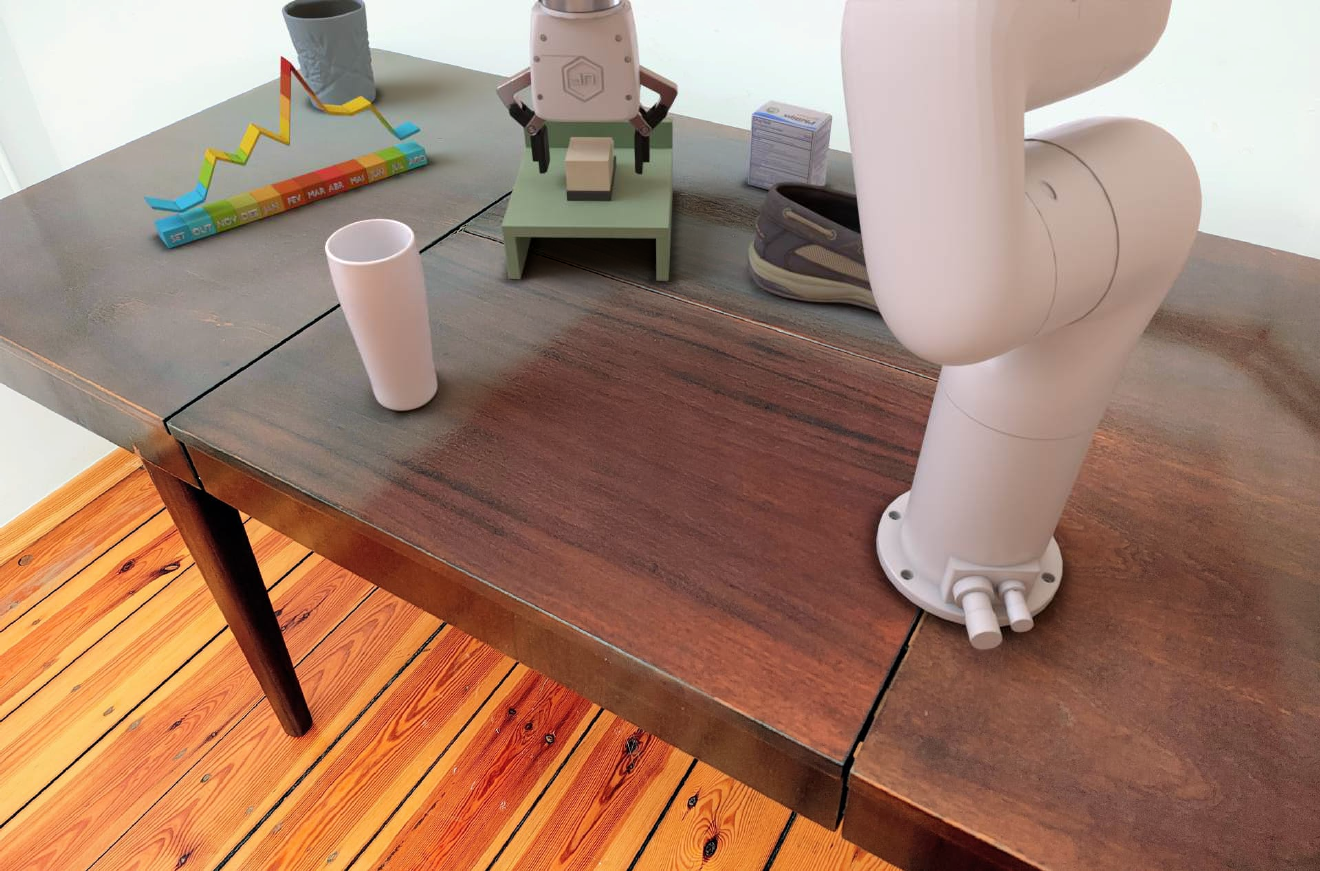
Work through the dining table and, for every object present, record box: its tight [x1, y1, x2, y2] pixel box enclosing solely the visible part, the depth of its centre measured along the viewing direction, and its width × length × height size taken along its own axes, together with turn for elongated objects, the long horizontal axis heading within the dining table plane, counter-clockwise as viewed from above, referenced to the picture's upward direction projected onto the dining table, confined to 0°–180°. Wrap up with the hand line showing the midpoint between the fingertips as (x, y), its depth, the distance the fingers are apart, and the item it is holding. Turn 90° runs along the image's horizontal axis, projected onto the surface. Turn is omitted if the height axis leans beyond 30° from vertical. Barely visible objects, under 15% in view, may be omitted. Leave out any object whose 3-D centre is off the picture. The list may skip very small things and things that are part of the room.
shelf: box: [501, 116, 674, 282], centre depth 96 cm, size 18×16×9 cm
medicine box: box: [747, 100, 833, 191], centre depth 104 cm, size 8×4×9 cm, turn 58°
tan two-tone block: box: [565, 137, 616, 201], centre depth 94 cm, size 8×4×4 cm, turn 178°
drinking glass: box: [324, 218, 439, 412], centre depth 75 cm, size 7×7×15 cm
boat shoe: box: [746, 182, 880, 313], centre depth 87 cm, size 11×29×11 cm, turn 78°
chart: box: [143, 55, 428, 249], centre depth 101 cm, size 30×3×15 cm, turn 129°
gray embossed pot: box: [281, 0, 377, 111], centre depth 122 cm, size 10×10×12 cm
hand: (592, 167), depth 94 cm, fingers open, 9 cm apart
